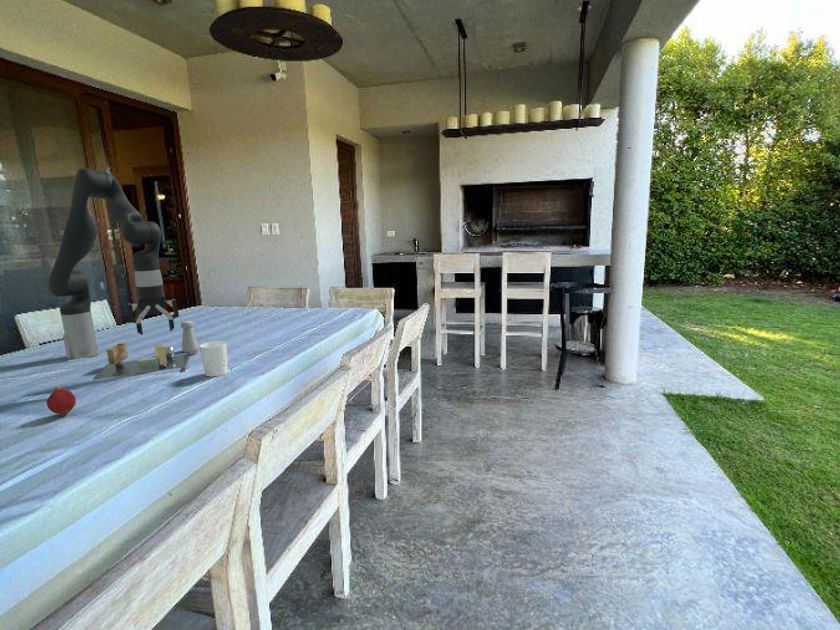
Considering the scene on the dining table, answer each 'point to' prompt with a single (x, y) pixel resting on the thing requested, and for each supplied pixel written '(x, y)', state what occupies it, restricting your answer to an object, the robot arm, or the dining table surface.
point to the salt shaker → (189, 338)
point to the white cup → (214, 358)
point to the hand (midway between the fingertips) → (156, 332)
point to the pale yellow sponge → (160, 355)
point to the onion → (61, 401)
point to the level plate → (145, 365)
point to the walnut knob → (117, 354)
